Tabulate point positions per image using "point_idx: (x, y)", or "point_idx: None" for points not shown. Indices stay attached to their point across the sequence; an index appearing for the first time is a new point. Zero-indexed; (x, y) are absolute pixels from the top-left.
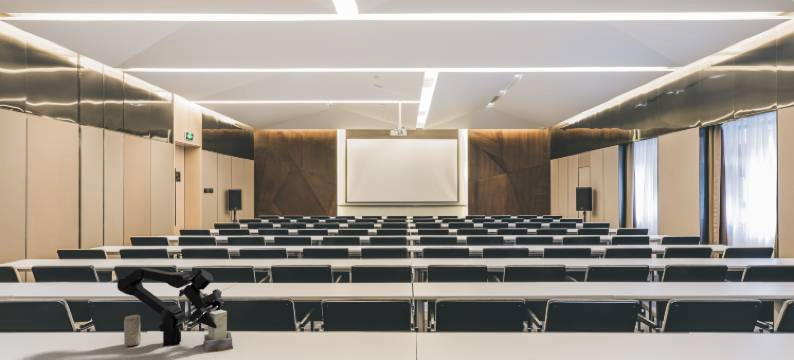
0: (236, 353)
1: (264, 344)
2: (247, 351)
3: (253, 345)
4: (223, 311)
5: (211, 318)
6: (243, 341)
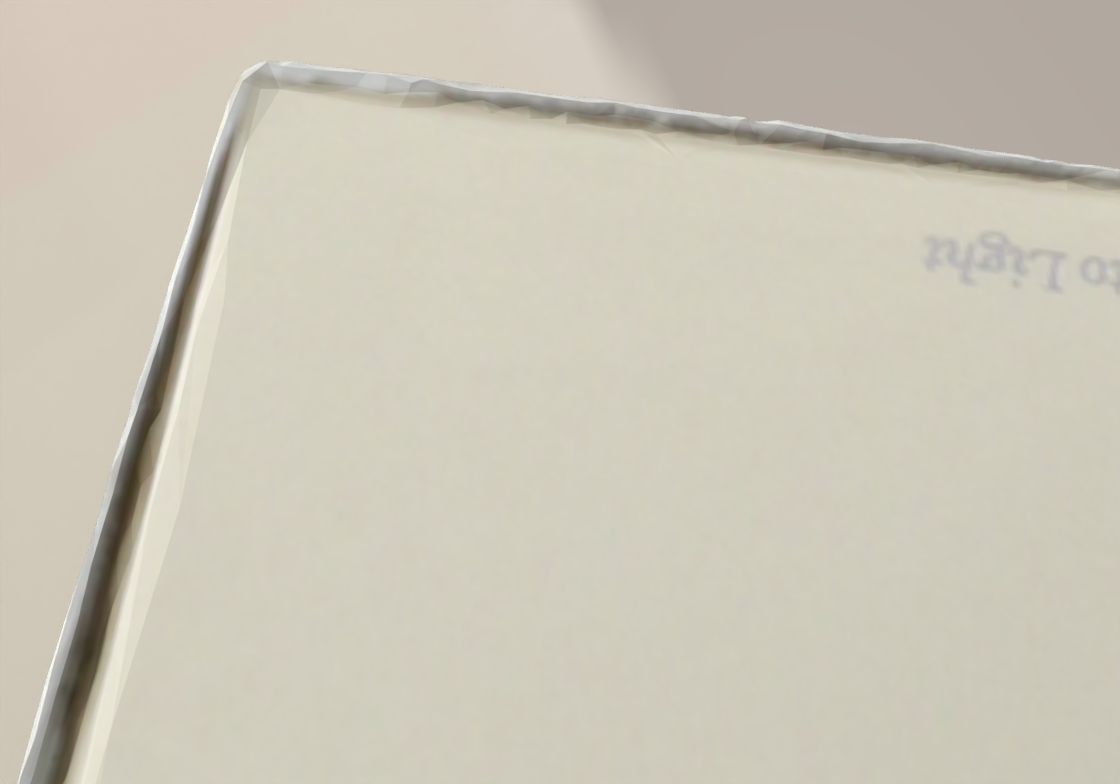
0: (650, 103)
1: (64, 9)
2: (489, 25)
3: (191, 127)
4: (444, 255)
5: None
6: (49, 451)
